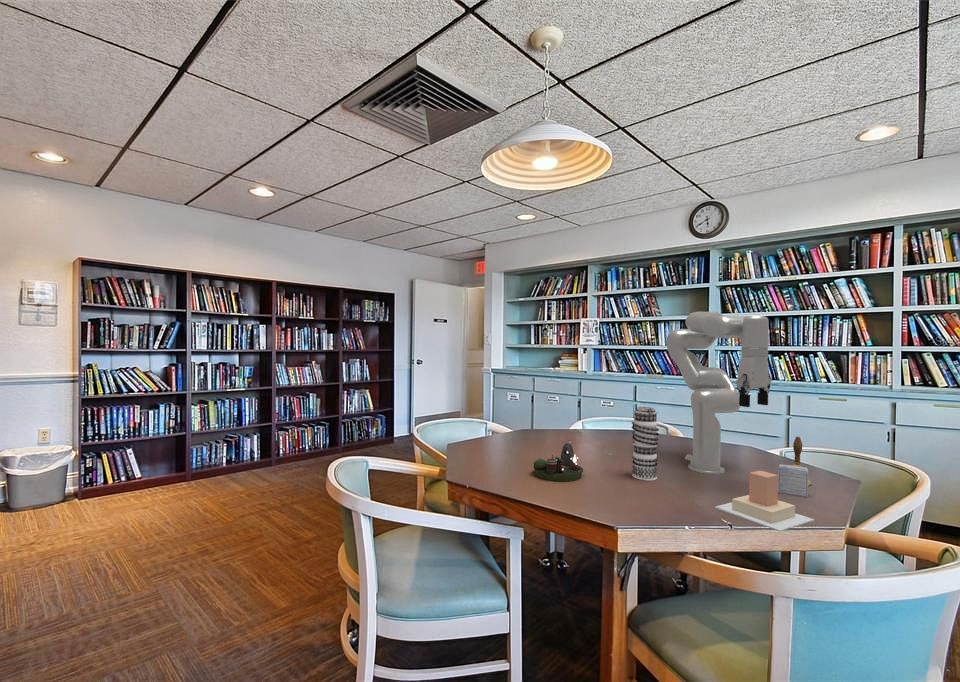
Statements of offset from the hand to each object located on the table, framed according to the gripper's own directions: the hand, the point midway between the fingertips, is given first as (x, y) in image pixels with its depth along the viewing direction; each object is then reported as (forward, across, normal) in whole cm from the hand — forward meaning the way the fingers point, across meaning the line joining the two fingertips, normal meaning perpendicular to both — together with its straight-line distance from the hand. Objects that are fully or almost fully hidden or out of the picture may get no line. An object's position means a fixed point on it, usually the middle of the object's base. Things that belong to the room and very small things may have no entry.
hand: (753, 405), depth 147 cm
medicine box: (+29, -10, +7) cm, 31 cm away
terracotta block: (+24, +18, +14) cm, 33 cm away
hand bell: (+29, -24, +1) cm, 37 cm away
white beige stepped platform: (+28, +18, +14) cm, 36 cm away
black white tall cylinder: (+28, +20, -27) cm, 44 cm away
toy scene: (+29, +47, -42) cm, 70 cm away
